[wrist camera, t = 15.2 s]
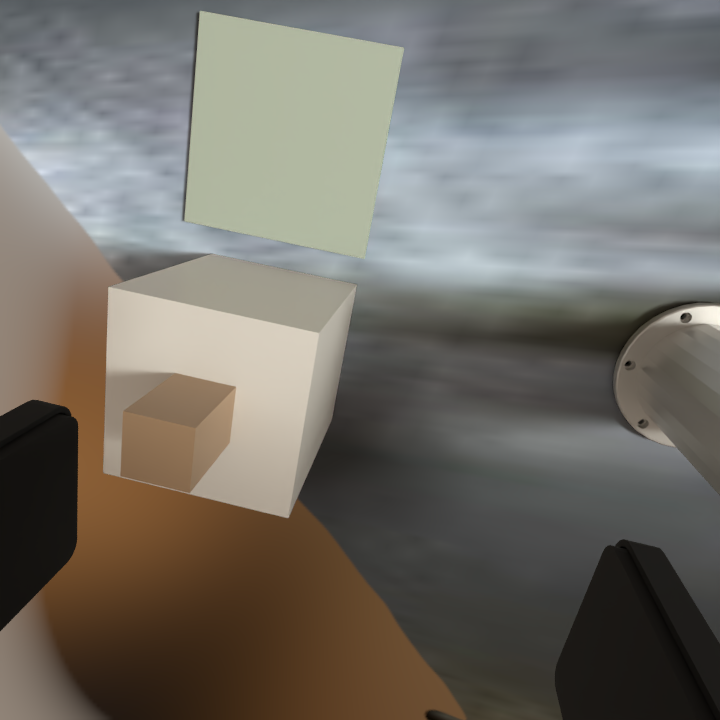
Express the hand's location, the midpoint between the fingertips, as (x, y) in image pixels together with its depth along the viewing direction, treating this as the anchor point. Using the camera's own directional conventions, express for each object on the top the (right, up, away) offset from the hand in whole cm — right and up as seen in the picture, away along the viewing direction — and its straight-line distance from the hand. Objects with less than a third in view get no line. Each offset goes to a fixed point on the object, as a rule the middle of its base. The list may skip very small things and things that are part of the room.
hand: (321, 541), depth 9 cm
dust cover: (-7, +5, +40) cm, 41 cm away
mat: (-5, +21, +35) cm, 41 cm away
